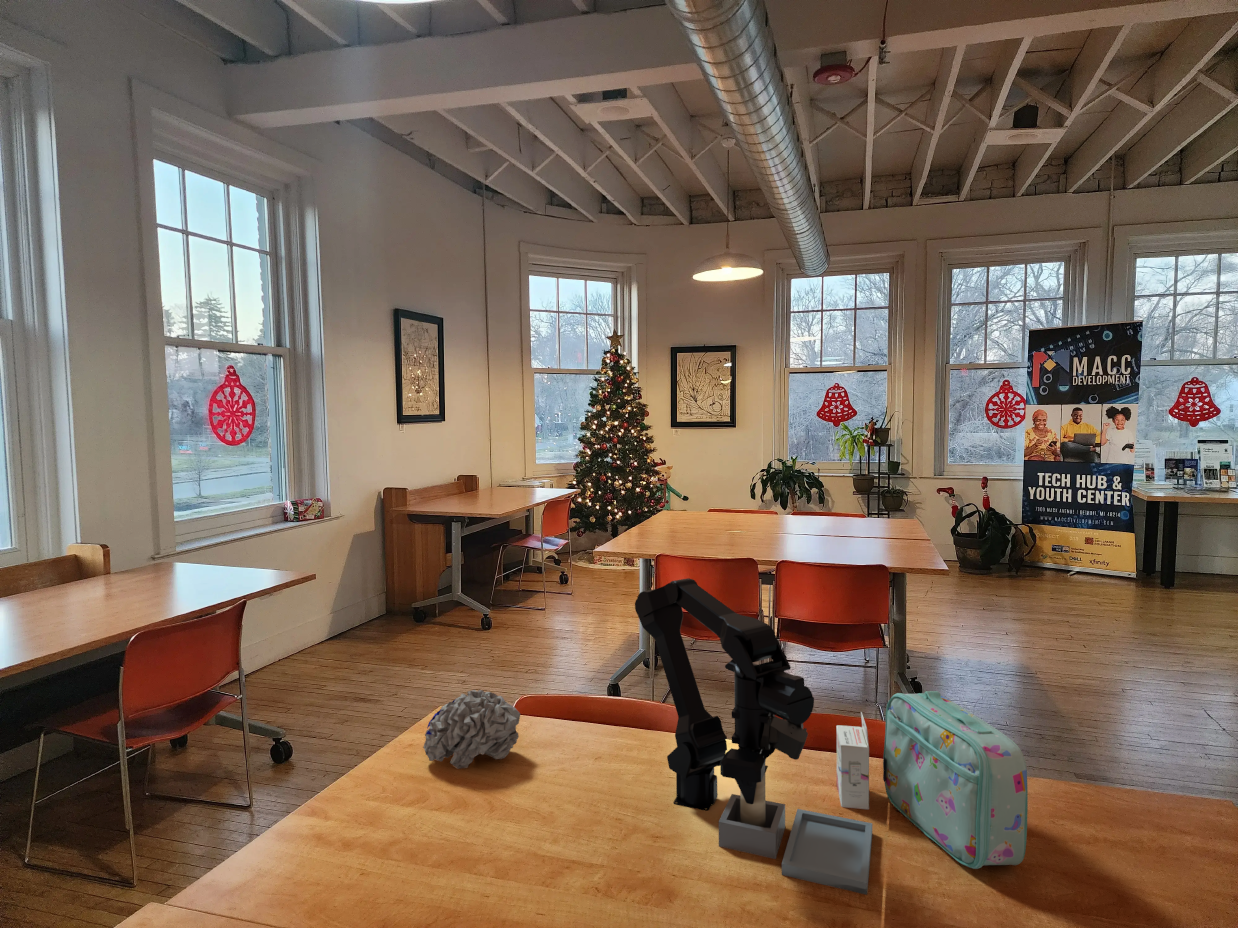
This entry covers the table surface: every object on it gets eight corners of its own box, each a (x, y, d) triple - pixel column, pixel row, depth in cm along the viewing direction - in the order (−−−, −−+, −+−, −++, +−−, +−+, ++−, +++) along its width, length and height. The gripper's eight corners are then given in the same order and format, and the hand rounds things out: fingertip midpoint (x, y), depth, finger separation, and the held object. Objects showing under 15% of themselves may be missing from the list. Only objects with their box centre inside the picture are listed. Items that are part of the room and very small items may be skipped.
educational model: (452, 771, 149) (419, 709, 149) (535, 727, 150) (502, 666, 149) (438, 804, 135) (402, 736, 135) (529, 755, 136) (493, 687, 135)
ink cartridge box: (834, 785, 130) (835, 708, 129) (862, 787, 129) (863, 709, 128) (840, 809, 122) (840, 727, 121) (869, 812, 121) (870, 729, 120)
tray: (781, 877, 104) (781, 863, 104) (797, 821, 118) (797, 808, 118) (867, 897, 99) (867, 882, 99) (872, 836, 114) (872, 823, 114)
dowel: (738, 830, 112) (737, 770, 112) (743, 817, 116) (743, 759, 115) (762, 835, 111) (762, 774, 110) (767, 822, 114) (767, 763, 114)
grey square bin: (718, 848, 111) (718, 821, 111) (731, 819, 119) (731, 793, 119) (775, 861, 107) (775, 833, 107) (785, 830, 116) (785, 804, 115)
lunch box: (871, 793, 127) (872, 678, 126) (921, 786, 129) (922, 673, 128) (974, 887, 101) (976, 743, 100) (1035, 877, 103) (1037, 736, 102)
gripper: (794, 733, 100) (794, 838, 101) (811, 688, 118) (811, 778, 118) (719, 722, 105) (719, 823, 105) (746, 680, 122) (746, 767, 123)
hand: (752, 796), depth 113 cm, fingers closed on dowel, 4 cm apart
